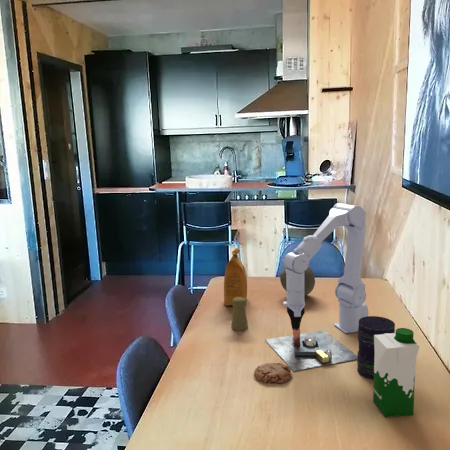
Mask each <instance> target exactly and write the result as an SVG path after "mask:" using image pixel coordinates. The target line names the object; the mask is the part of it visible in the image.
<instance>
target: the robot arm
mask: <svg viewBox="0 0 450 450" xmlns="http://www.w3.org/2000/svg"><path fill="white" fill-rule="evenodd" d="M328 213H329V214H328V216H327V217H326V218H325V220H324V221H323V222H322V223H321V225H319V227H318V228H317V229H316V231H315V232H314V233H313V234H312V235H311V234H310V235H307V236H304V237H303V238H302V241H301V242H300V243H299V244H298V245H297V247H296V248H294V249H293V251H290V252H288V253H287V254H286V255H285V256H284V258H283V260H282V262H281V263H282V266H283V268H284V267H285V270H286V290H285V291H287V292H286V301H283V302H282V306H284V307H285V306H286V312H287V314H288V316H289V320H290V325H291V329H292V330H293V329H295V328H298V329H300V327H301V323H302V319H303V316H304V315H305V306H306V302H305V296H304V271H305V270H307V268H308V266H309V264H310V262H311V259H312V258H313V257H314V256H315V255H316V254H317V253H318V251H320V249H322V242H323V241H324V240H325V239H326V238H327V237H328V236H330V234H332V232H334V231H335V230H336V229H337V228H339V227H345V229H346V230H347V231H348V234H347V245H346V251H345V252H346V253H345V258H344V259H345V262H344V269H343V275H342V276H341V277H339V278H338V280H337V285H336V287H335V289H334V294H335V297H336V298H337V301H338V302H339V303H338V308H339V311H338V315H339V316H338V322H335V323H334V324H333V325H334V327H336V328H338V329H339V330H340V331H342V332H343V333H344V334H350V333H356V332H357V333H358V326H359V319H361V318H363V317H367V316H369V308H368V306H367V304H366V303H365V301H366V299H367V292H366V283H364V281H363V279H362V278H361V272H362V264H363V255H364V247H365V239H366V232H367V224H366V216H367V211H366V210H365V209H364V208H363V207H362V206H361V205H354V204H347V203H343V202H337V203H335V204H334V205H333V207H332V208H330V210H329V212H328Z"/></svg>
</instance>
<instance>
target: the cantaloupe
mask: <svg viewBox="0 0 450 450" xmlns="http://www.w3.org/2000/svg"><path fill="white" fill-rule="evenodd" d="M279 280H280V283H281V284H280V285H281V287H282V288H283V289H284V291H286V270H285V267H284V266H283V268H282V270H281V273H280V275H279ZM315 284H316V277H315V273H314V271H313V270H312V268H311V267H310V266H309V265H308V268H307V270H305V271H304V297H306V296H308V295H309V294H311V293H312V292H313V290H314V288H315ZM286 293H287V291H286Z"/></svg>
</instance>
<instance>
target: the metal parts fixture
mask: <svg viewBox="0 0 450 450" xmlns="http://www.w3.org/2000/svg"><path fill="white" fill-rule="evenodd" d="M300 334H301V329H300V328H299V329H298V328H295V329H292V335H293V337H292V344H293V350H294V355H310V356H316V357H317V358H318V359H319V360H320V361H321V362H322V363H324V362H329V356H327V355H326V351H327V350H329V347H328V344H327V341H326V338H325V337H313V338H315V339H316V344H317V346H318V347H303V344H305V338H307V337H300Z"/></svg>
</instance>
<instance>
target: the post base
mask: <svg viewBox="0 0 450 450" xmlns="http://www.w3.org/2000/svg"><path fill="white" fill-rule="evenodd" d="M292 337H293V334H292V335H286V336H285V335H283V336H279V337H273V338H266V339H265V340H264V341H265V342H266V343H267V345H269V346H270V348H271V349H273V351H274V352H275V353H276V354H277V356H279V357H280V359H282V361H283V362H284V363H285V365H287V366H288V367H290V368H291V371H293V372H295V373H296V372H299V371H305V370H310V369H315V368H320V367H326V366H331V365H336V364H342V363H346V362H352V361H357V355H358V354H356V353H354V352H353V351H352V350H350V349H349V348H348V347H346V345H344V344H343V343H341V342H340V341H339V340H337V339H336V338H335V337H334V336H332V335H331V334H330V333H328V332H327V331H326V330H325V329H322V330H316V331H308V332H304V333H303V332H302V333H300V337H307V338H305V344H303V347H318V346H317V344H316V339H315V338H313V337H325V338H326V341H327V344H328V347H329V350H331V351H332V360H331V361H329V362H324V363H322V362H321V361H320V360H319V359H318V358H317V357H316V356H310V355H294V350H293V344H292Z"/></svg>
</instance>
